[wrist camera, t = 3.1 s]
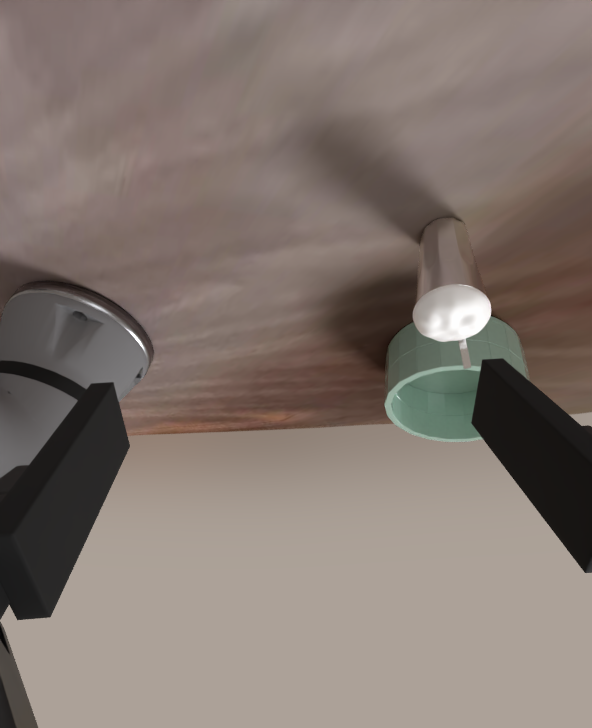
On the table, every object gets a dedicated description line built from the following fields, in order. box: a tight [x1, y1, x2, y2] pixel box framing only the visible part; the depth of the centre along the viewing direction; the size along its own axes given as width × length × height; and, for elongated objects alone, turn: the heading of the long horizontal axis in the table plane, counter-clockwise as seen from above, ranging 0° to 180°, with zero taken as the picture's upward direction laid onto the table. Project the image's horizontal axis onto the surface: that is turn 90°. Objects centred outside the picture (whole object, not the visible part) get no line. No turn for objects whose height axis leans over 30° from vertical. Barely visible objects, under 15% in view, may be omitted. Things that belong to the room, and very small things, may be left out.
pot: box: [384, 316, 530, 442], centre depth 39 cm, size 12×12×6 cm
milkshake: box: [413, 217, 491, 369], centre depth 28 cm, size 4×5×10 cm
